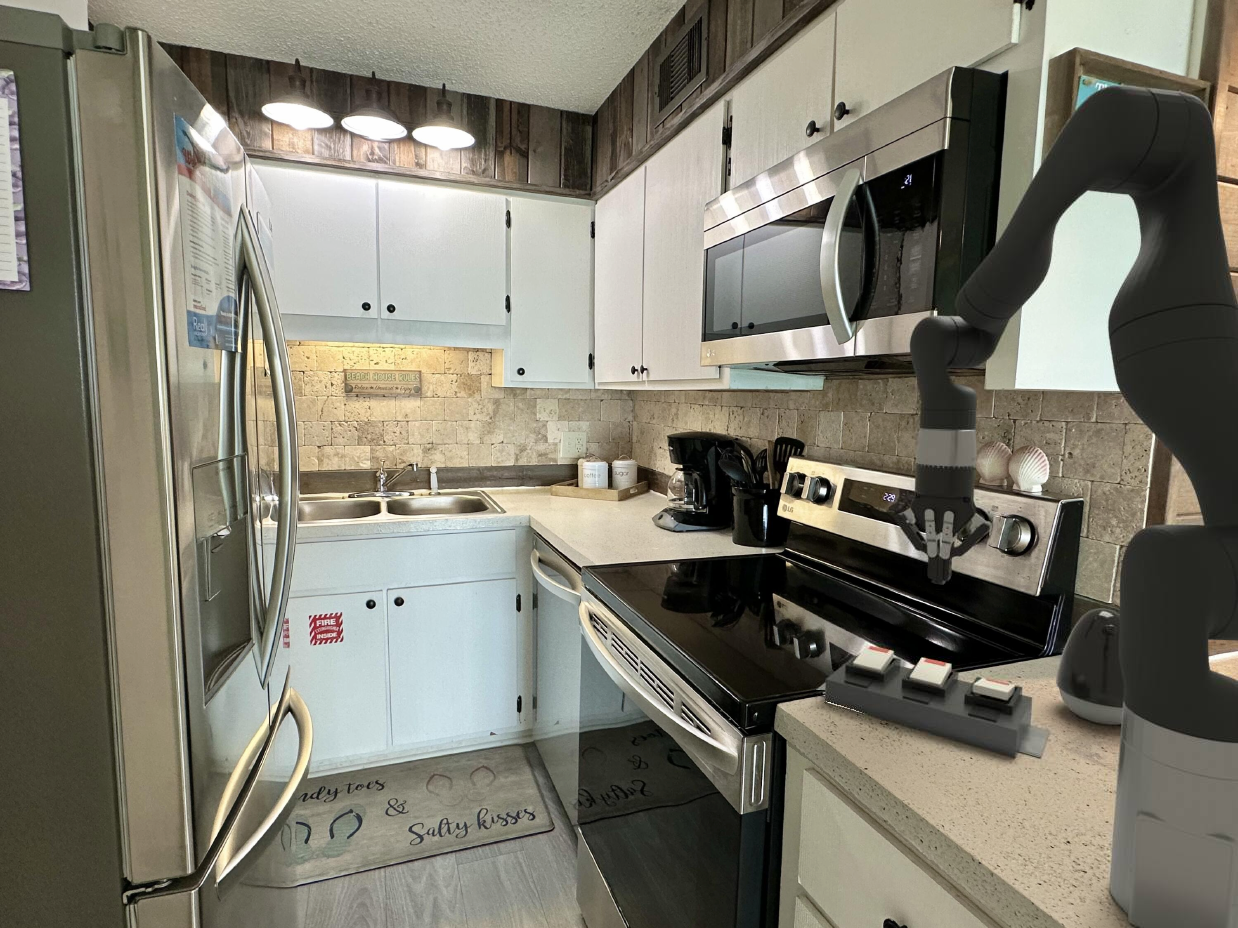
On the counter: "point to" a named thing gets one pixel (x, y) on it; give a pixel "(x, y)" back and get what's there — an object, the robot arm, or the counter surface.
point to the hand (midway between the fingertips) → (939, 582)
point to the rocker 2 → (994, 688)
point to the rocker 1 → (874, 658)
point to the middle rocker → (931, 672)
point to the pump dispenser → (1093, 668)
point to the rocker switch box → (939, 707)
